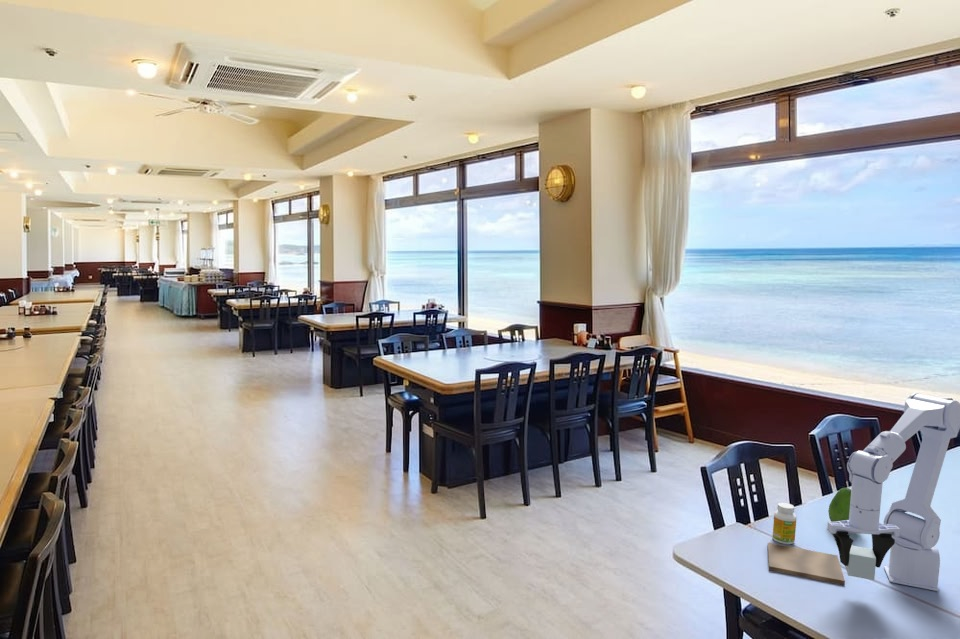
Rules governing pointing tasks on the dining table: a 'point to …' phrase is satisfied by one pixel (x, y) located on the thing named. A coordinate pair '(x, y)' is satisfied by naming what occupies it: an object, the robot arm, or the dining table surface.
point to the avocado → (840, 505)
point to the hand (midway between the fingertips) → (859, 564)
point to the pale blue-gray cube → (861, 563)
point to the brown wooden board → (805, 563)
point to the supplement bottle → (784, 524)
